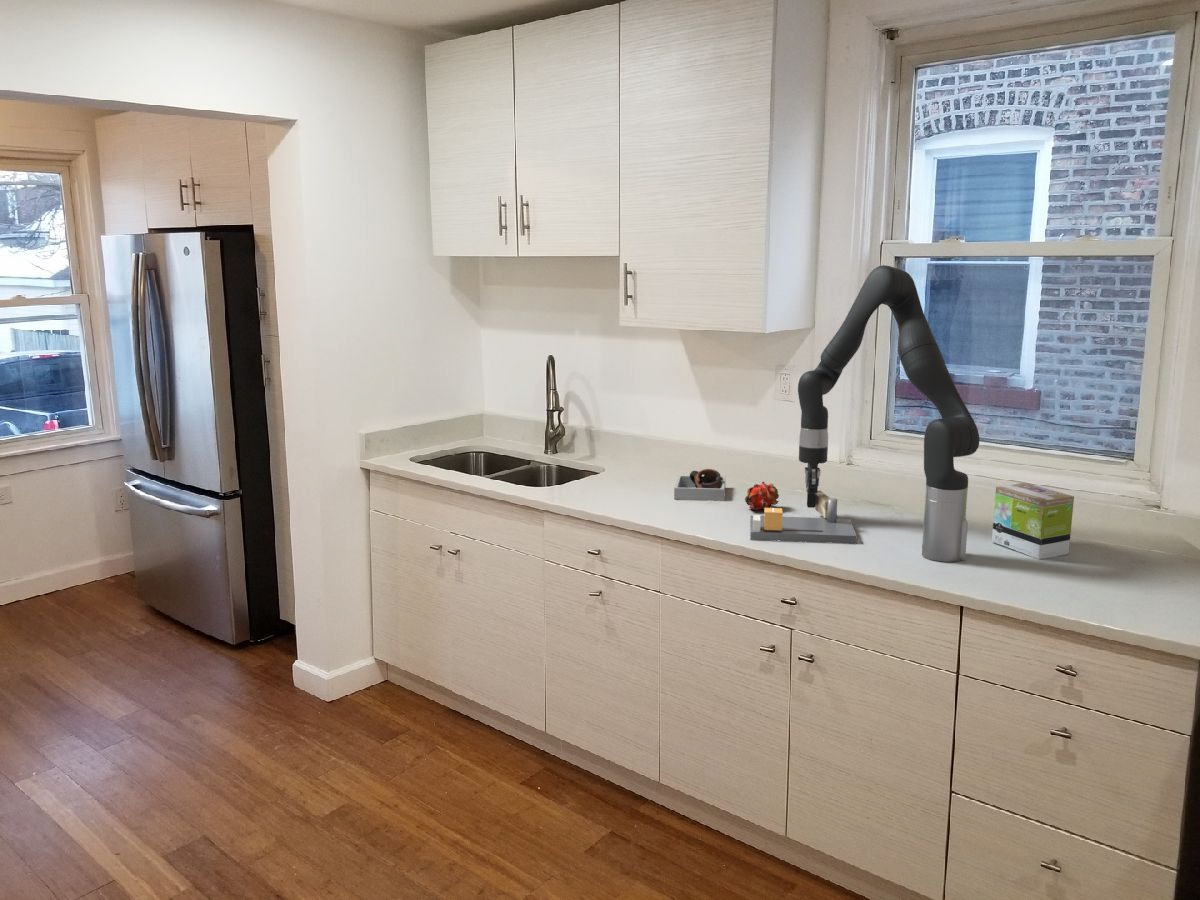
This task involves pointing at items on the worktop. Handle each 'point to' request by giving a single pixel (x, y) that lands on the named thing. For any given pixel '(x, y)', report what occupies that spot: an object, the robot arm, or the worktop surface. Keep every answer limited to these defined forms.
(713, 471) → the pottery mug
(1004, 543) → the tea box
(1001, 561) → the worktop surface
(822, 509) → the gate arm
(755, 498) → the dragon fruit
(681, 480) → the tray
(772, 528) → the fader knob
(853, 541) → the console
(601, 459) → the worktop surface
